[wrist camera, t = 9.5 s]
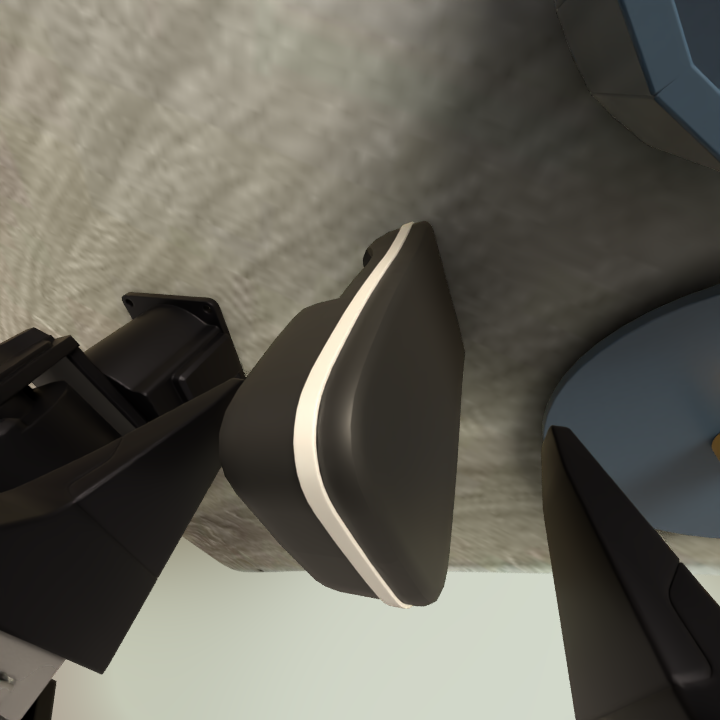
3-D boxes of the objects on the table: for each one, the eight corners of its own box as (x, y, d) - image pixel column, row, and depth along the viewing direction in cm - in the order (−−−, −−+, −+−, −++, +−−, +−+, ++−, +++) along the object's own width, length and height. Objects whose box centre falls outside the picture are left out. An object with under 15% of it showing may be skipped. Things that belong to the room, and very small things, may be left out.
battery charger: (343, 238, 15) (145, 449, 6) (430, 209, 13) (322, 443, 5) (394, 364, 18) (312, 612, 10) (468, 354, 17) (448, 642, 8)
